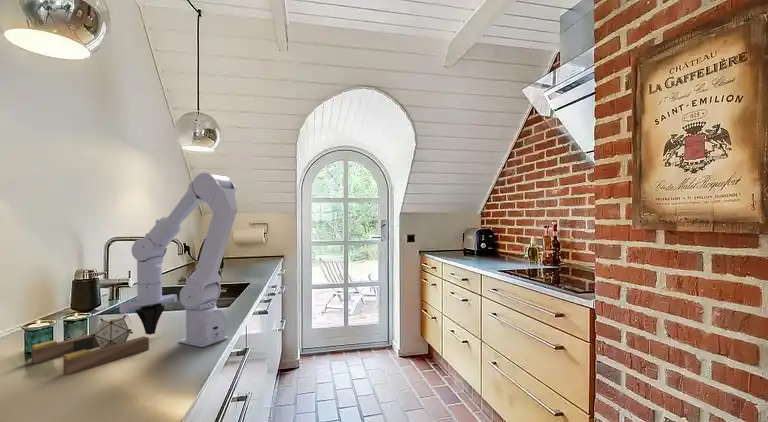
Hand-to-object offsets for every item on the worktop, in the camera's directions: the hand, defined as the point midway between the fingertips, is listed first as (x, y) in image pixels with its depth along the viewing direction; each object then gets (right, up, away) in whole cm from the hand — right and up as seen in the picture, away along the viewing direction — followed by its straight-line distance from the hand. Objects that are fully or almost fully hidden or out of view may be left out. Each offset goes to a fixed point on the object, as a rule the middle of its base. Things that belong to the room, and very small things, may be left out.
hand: (150, 333), depth 107 cm
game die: (-4, -2, -8) cm, 10 cm away
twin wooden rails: (-6, -1, -12) cm, 14 cm away
